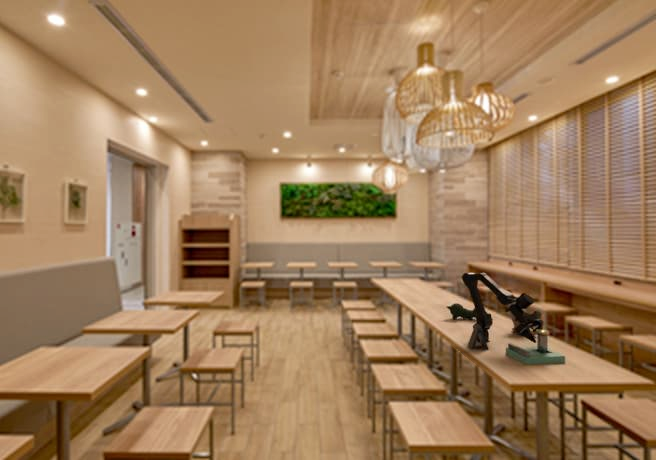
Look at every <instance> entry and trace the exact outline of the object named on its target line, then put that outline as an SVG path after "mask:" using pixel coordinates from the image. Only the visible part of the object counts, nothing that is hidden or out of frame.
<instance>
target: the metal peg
mask: <svg viewBox="0 0 656 460" xmlns="http://www.w3.org/2000/svg"><path fill="white" fill-rule="evenodd" d="M542 329H543V328H542ZM542 329H537V330H536V333H537V335H536V336H537V337H536V343H537V344H536V346H537V352H539V353H541V354H544V353H548V349H549V348H548V341H549V340H548V338H549V337H548V335H550V331H549V330H547V329H543V330H542Z"/></svg>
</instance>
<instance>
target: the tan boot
mask: <svg viewBox="0 0 656 460" xmlns="http://www.w3.org/2000/svg"><path fill="white" fill-rule="evenodd" d="M523 311H524V312H525V313H528V311H527V309H523ZM509 317H510V319H511V322H512V324H513V327H512V328H511V330H512V331H513V332H514V333H515V331H514V328H515V327H517V326H518V325H519V322H518V321H515V317H514V316H513V315H512V314H511V312H509ZM530 332H531V334H532V335H533V337H534V336H537V334H536V333H535V332H533V330H532V329H530Z"/></svg>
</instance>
